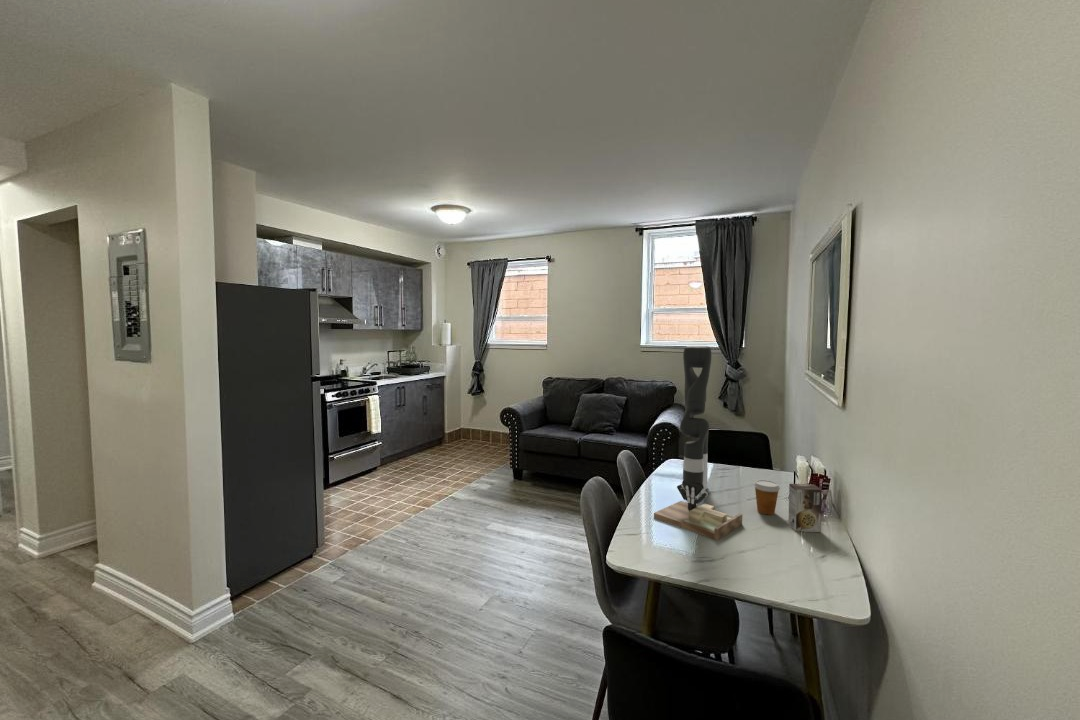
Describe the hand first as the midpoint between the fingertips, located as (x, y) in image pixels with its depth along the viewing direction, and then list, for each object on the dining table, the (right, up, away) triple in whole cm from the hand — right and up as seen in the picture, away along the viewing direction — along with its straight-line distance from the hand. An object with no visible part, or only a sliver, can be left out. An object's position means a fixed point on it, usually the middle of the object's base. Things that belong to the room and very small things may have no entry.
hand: (691, 512), depth 175 cm
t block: (+5, -1, -6) cm, 8 cm away
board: (+2, -3, -1) cm, 4 cm away
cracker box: (+39, -4, -8) cm, 40 cm away
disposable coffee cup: (+33, -3, +8) cm, 34 cm away
